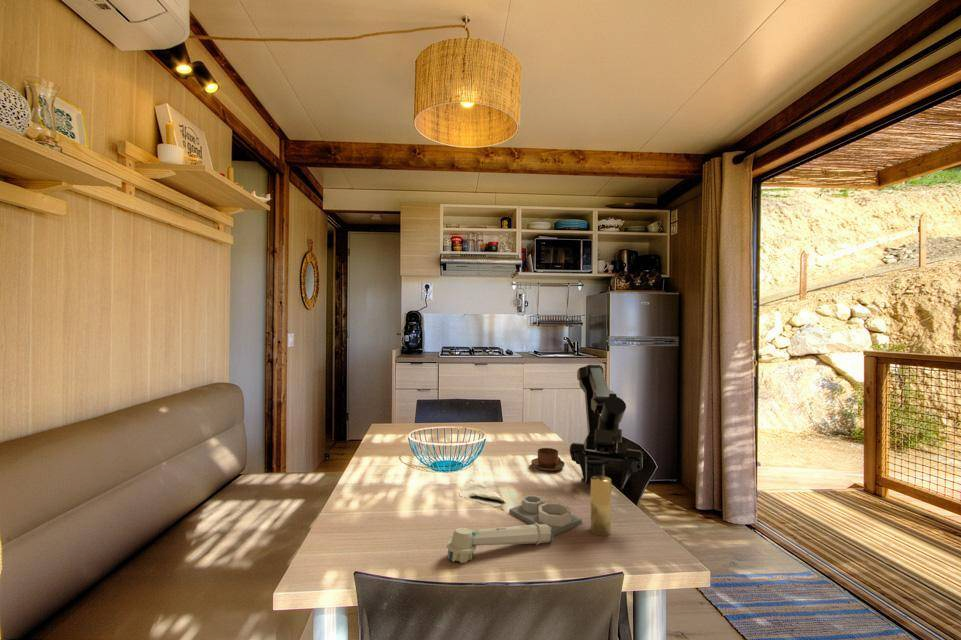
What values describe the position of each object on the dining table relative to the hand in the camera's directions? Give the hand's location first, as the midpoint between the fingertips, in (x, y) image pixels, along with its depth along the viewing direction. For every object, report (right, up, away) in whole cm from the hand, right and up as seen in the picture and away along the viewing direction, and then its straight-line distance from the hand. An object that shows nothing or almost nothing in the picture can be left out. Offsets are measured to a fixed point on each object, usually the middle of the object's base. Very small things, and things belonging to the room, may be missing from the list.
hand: (602, 485), depth 111 cm
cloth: (-32, -11, +20) cm, 39 cm away
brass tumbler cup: (-1, -10, -3) cm, 11 cm away
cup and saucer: (-7, -11, +45) cm, 47 cm away
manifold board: (-15, -10, +4) cm, 18 cm away
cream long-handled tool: (-27, -10, -12) cm, 31 cm away
